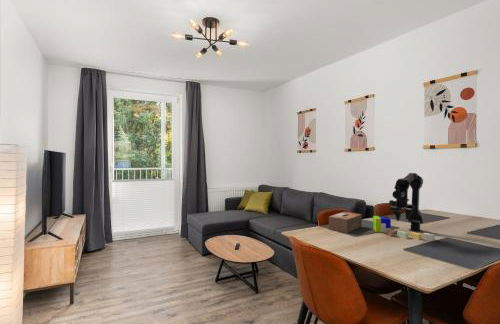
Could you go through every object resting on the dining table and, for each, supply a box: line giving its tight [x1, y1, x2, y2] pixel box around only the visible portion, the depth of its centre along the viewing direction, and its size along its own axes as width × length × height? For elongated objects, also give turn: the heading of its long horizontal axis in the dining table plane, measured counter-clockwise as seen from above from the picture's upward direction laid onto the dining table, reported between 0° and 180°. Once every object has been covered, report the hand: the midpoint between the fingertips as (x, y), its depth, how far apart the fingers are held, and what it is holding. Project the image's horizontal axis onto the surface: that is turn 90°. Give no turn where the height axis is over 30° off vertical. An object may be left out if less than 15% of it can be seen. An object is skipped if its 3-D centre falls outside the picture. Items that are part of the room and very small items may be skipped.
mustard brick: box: [409, 231, 423, 241], centre depth 193 cm, size 6×3×4 cm, turn 27°
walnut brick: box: [384, 229, 396, 237], centre depth 201 cm, size 6×3×4 cm, turn 11°
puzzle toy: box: [372, 215, 392, 234], centre depth 213 cm, size 10×10×10 cm
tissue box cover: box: [328, 211, 363, 234], centre depth 221 cm, size 26×14×10 cm, turn 136°
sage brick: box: [396, 230, 409, 239], centre depth 197 cm, size 6×3×4 cm, turn 26°
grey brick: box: [422, 232, 436, 242], centre depth 192 cm, size 6×3×4 cm, turn 31°
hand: (402, 220), depth 197 cm, fingers open, 9 cm apart
